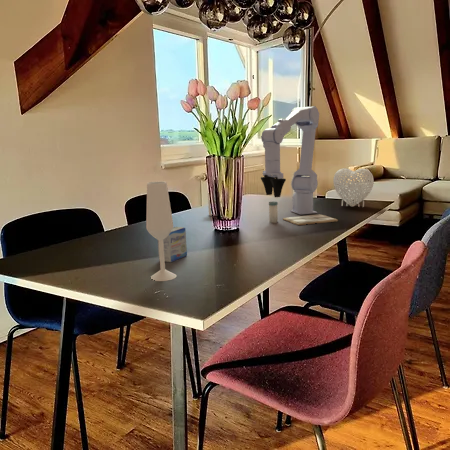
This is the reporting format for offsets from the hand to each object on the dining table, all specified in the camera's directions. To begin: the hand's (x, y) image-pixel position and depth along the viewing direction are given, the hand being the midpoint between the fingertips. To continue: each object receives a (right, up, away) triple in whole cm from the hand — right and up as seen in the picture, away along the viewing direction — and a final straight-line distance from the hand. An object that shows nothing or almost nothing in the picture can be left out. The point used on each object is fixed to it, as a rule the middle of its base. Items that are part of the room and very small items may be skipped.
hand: (273, 195), depth 174 cm
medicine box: (-34, -21, -43) cm, 58 cm away
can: (-22, -7, +23) cm, 33 cm away
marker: (0, -10, +2) cm, 10 cm away
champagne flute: (-34, -25, -60) cm, 73 cm away
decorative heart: (+39, -3, +30) cm, 50 cm away
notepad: (+15, -9, +3) cm, 18 cm away
